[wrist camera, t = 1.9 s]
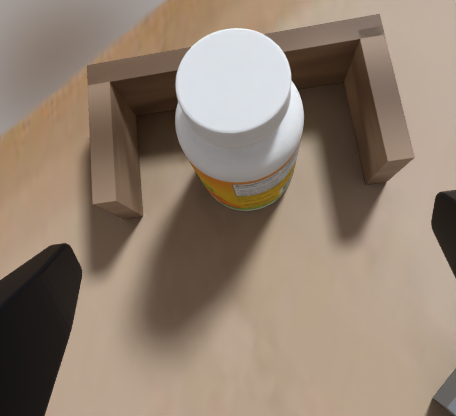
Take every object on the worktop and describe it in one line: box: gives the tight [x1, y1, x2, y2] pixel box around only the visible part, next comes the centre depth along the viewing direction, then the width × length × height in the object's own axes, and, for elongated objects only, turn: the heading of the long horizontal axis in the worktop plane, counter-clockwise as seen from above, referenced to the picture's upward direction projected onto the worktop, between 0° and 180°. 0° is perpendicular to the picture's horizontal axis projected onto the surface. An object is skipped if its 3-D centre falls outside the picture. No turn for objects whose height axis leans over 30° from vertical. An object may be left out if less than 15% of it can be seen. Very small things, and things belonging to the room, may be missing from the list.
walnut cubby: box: [87, 14, 414, 219], centre depth 20 cm, size 8×15×4 cm, turn 97°
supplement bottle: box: [175, 28, 304, 211], centre depth 17 cm, size 5×5×10 cm
